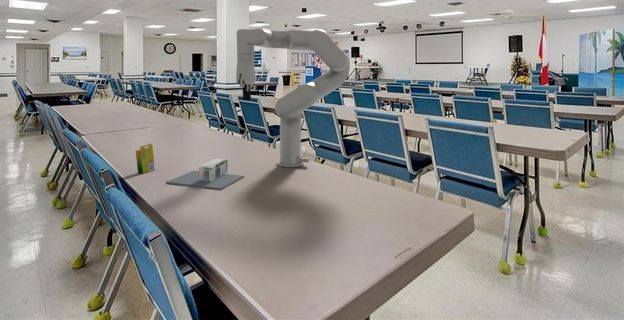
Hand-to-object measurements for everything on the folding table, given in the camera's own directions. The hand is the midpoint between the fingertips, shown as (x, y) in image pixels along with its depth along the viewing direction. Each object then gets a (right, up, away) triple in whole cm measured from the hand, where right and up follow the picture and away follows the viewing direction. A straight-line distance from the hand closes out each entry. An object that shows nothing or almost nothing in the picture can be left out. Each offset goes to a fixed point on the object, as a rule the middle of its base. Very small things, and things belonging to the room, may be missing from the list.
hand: (246, 100), depth 182 cm
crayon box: (-41, -32, -11) cm, 53 cm away
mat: (-12, -35, -23) cm, 44 cm away
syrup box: (-8, -29, -14) cm, 34 cm away
